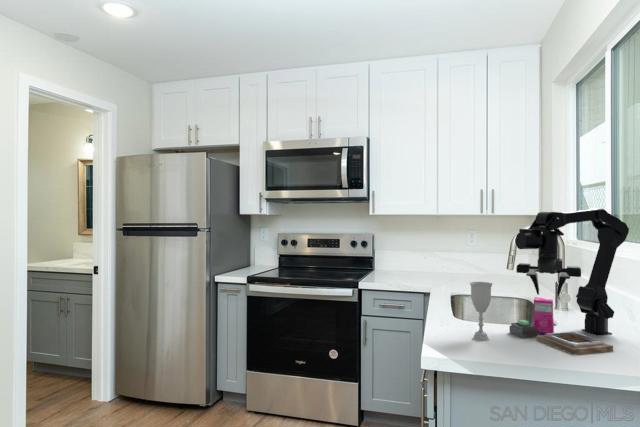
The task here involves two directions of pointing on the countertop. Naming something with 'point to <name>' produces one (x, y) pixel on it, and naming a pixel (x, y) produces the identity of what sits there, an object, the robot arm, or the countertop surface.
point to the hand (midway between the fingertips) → (547, 295)
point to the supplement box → (543, 315)
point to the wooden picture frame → (584, 347)
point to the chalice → (481, 305)
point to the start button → (523, 322)
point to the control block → (523, 330)
